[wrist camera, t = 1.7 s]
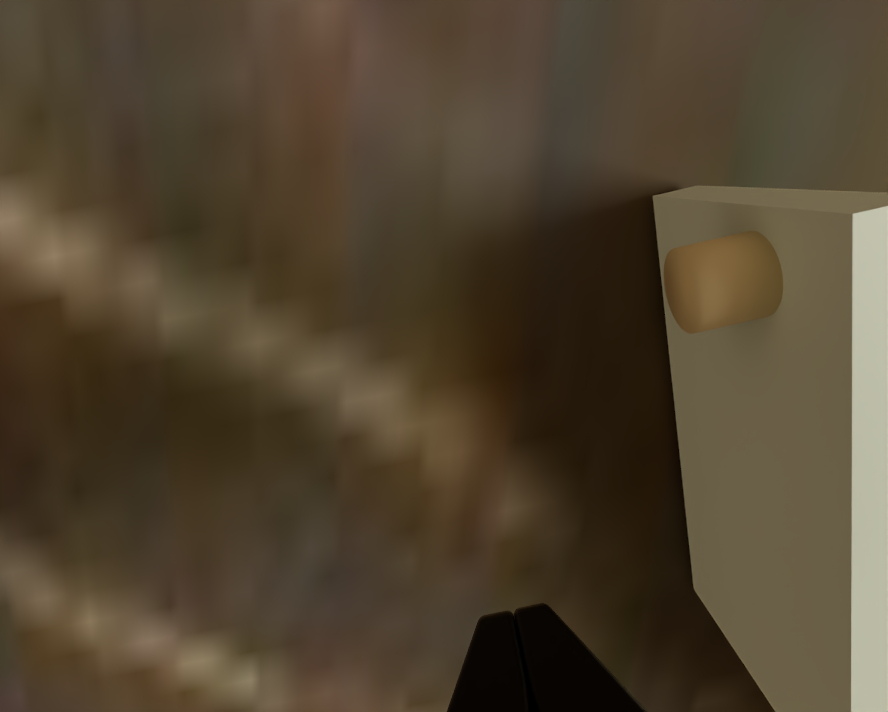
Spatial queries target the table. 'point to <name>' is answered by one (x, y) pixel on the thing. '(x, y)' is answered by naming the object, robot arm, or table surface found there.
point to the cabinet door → (785, 429)
